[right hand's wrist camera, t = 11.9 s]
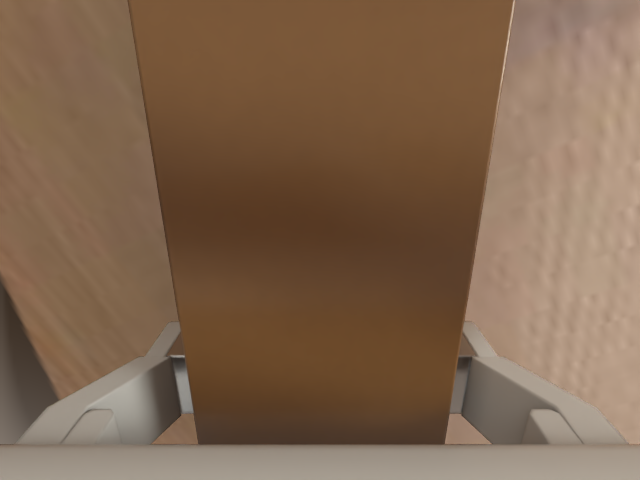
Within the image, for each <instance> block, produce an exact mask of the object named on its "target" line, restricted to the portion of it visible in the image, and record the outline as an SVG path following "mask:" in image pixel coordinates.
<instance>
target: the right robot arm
mask: <svg viewBox="0 0 640 480" xmlns="http://www.w3.org/2000/svg"><path fill="white" fill-rule="evenodd" d="M188 413H193V406H192V400H191V394H190V387H189V381H188V375H187V369H186V362H185V356H184V350H183V344H182V337H181V331H180V325H179V321H172V322H169V323H168V324H167V325H166V326H165V328H164V329H163V331H162V332H161V334H160V335H159V337H158V338H157V339H156V341H155V342H154V344H153V345H152V347H151V348H150V350H149V351H148V352H147V354H146V355H145V357H138V358H136V359H134V360H132V361H130V362H129V363H127V364H125V365H123V366H121V367H119V368H118V369H116V370H114V371H112V372H110V373H109V374H107V375H105V376H103V377H101V378H100V379H98V380H96V381H94V382H92V383H90V384H89V385H87V386H85V387H83V388H81V389H80V390H78V391H76V392H74V393H72V394H71V395H69V396H67V397H65V398H63V399H61V400H60V401H58V402H56V403H54V404H52V405H51V406H49V407H47V408H46V409H45V410H44V411H43V413H42V414H41V415H40V416H39V417H38V418H37V419H36V420H35V421H34V423H33V424H32V425H31V426H30V427H29V428H28V429H27V430H26V432H25V433H24V434H23V435H22V436H21V437H20V438H19V439H18V440H17V442H16V443H15V444H0V480H640V444H629V443H628V442H627V441H626V439H625V438H624V437H623V436H622V435H621V434H620V433H619V432H618V431H617V430H616V428H615V427H614V426H613V425H612V424H611V423H610V422H609V421H608V420H607V418H606V417H605V416H604V415H603V414H602V413H601V412H600V411H599V410H598V408H596V407H594V406H593V405H591V404H589V403H587V402H585V401H583V400H582V399H580V398H578V397H576V396H574V395H573V394H571V393H569V392H567V391H565V390H563V389H562V388H560V387H558V386H556V385H554V384H553V383H551V382H549V381H547V380H545V379H543V378H542V377H540V376H538V375H536V374H534V373H532V372H531V371H529V370H527V369H525V368H523V367H522V366H520V365H518V364H516V363H514V362H512V361H511V360H509V359H507V358H505V357H498V356H497V354H496V353H495V351H494V350H493V349H492V347H491V346H490V344H489V343H488V342H487V340H486V339H485V337H484V336H483V335H482V333H481V332H480V330H479V329H478V327H477V326H476V325H475V323H474V322H472V321H464V326H463V332H462V338H461V344H460V351H459V357H458V363H457V369H456V376H455V382H454V388H453V394H452V400H451V407H450V413H454V414H462V416H463V417H464V418H465V419H466V420H467V421H468V422H469V423H470V424H471V425H473V426H474V427H475V428H476V429H477V430H478V431H479V432H480V433H481V434H482V435H483V436H484V437H485V438H486V439H487V440H489V441H490V442H491V443H492V444H151V443H152V442H153V441H154V440H155V439H157V438H158V437H159V436H160V435H161V434H162V433H163V432H164V431H165V430H166V429H167V428H168V427H169V426H170V425H171V424H172V423H174V422H175V421H176V420H177V419H178V418H179V417H180V416H181V414H188Z"/></svg>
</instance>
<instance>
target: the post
mask: <svg viewBox="0 0 640 480" xmlns="http://www.w3.org/2000/svg"><path fill="white" fill-rule="evenodd" d="M515 2H516V0H128V5H129V12H130V18H131V24H132V30H133V37H134V43H135V49H136V55H137V62H138V68H139V74H140V80H141V87H142V93H143V99H144V106H145V112H146V118H147V124H148V131H149V137H150V143H151V149H152V156H153V162H154V168H155V174H156V181H157V187H158V193H159V200H160V206H161V212H162V218H163V225H164V231H165V237H166V243H167V250H168V256H169V262H170V268H171V275H172V281H173V287H174V294H175V300H176V306H177V312H178V319H179V325H180V331H181V337H182V344H183V350H184V356H185V362H186V369H187V375H188V381H189V387H190V394H191V400H192V406H193V413H194V419H195V425H196V431H197V438H198V444H445V438H446V431H447V425H448V419H449V413H450V407H451V400H452V394H453V388H454V382H455V376H456V369H457V363H458V357H459V351H460V344H461V338H462V332H463V326H464V320H465V313H466V307H467V301H468V295H469V288H470V282H471V276H472V270H473V264H474V257H475V251H476V245H477V239H478V232H479V226H480V220H481V214H482V208H483V201H484V195H485V189H486V183H487V176H488V170H489V164H490V158H491V152H492V145H493V139H494V133H495V127H496V120H497V114H498V108H499V102H500V96H501V89H502V83H503V77H504V71H505V65H506V58H507V52H508V46H509V40H510V33H511V27H512V21H513V15H514V9H515Z"/></svg>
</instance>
